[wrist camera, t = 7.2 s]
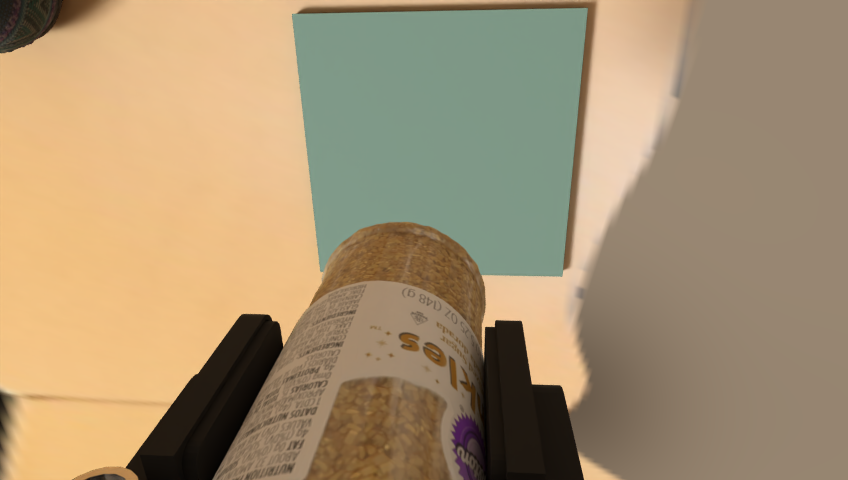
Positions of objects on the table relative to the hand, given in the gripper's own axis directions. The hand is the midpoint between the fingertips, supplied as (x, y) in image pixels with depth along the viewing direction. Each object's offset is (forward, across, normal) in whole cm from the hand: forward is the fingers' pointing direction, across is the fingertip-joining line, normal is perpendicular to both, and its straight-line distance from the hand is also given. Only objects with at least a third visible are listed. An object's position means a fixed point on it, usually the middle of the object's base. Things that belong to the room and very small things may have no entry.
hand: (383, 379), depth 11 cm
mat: (+19, 0, 0) cm, 19 cm away
